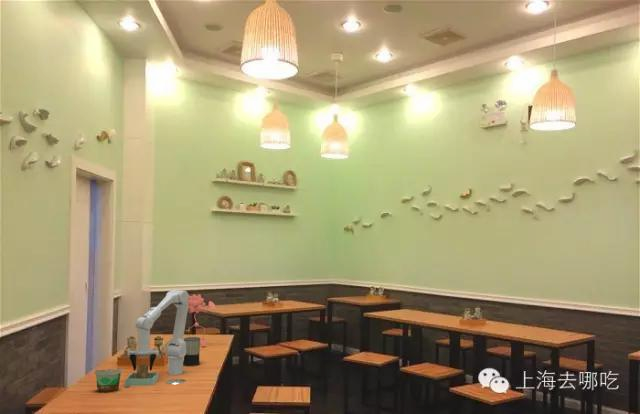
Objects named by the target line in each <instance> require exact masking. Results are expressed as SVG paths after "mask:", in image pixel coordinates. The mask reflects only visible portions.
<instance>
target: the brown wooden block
mask: <svg viewBox="0 0 640 414" xmlns="http://www.w3.org/2000/svg"><path fill="white" fill-rule="evenodd" d="M136 373H137V377H136V379H147V378H148V373H149V364H139V365H138V366H136Z"/></svg>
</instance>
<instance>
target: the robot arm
mask: <svg viewBox="0 0 640 414" xmlns="http://www.w3.org/2000/svg"><path fill="white" fill-rule="evenodd" d="M189 296H190V295H189V292H188V291H186V290H184V289H183V290H182V289H181V290H179V289H170V290H169V291H168V292H167V293H166V294H165V297H163V299H162V300H161V301H160V302H159V303H158V305H157V306H152V307H150V308H149V310H148V311H147V312H146V313H144V314H143V316H140V317H138V319H136V321H135V323H134V324H135V327H136V331H137V348H136V350H127V356H129V358H128V359H130V361H131V364H132V368H133V371H135V372H136V371H137V356H149V371H152V370H153V366H154V362H155V360H156V359H157V356H159V354H160V353H159V352H160V351H159V350H154V349H153V350H152V349H150V344H151V343H150V341H151V340H150V339H151V337H150V336H151V329H152V327H153V325H154V323H155V321H157V319H158V318H159V317H160V316H162V312H163V311H164V310H165V309H166V308H168V306H170V305H171V304H173V305H174V306H175V307H176V312H175V313H176V314H175V319H174V327H173V332H172V338H171V339H170V340H168V343H167V346H166V348H165V354H166V355H167V358H168V371H167V373H168V375H171V376H177V375H182V374H183V373H185V371H184V365H183V363H184V362H183V361H184V356H185V355H186V351H187V350H186V343H185V341H184V340H185V339H184V336H185V328H186V323H187V316H188V312H189V311H188V300H189Z"/></svg>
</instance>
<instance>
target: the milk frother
mask: <svg viewBox="0 0 640 414" xmlns="http://www.w3.org/2000/svg"><path fill="white" fill-rule="evenodd" d="M201 339H202V337H197V336H187V337H183V340H184V341H185V343H186V350H187V351H186V355H185V356H184V358H183V366H185V365H186V367H194V366H193V365H196V366H199V365H200V364H199V363H200V352H201ZM198 364H199V365H198Z"/></svg>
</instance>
